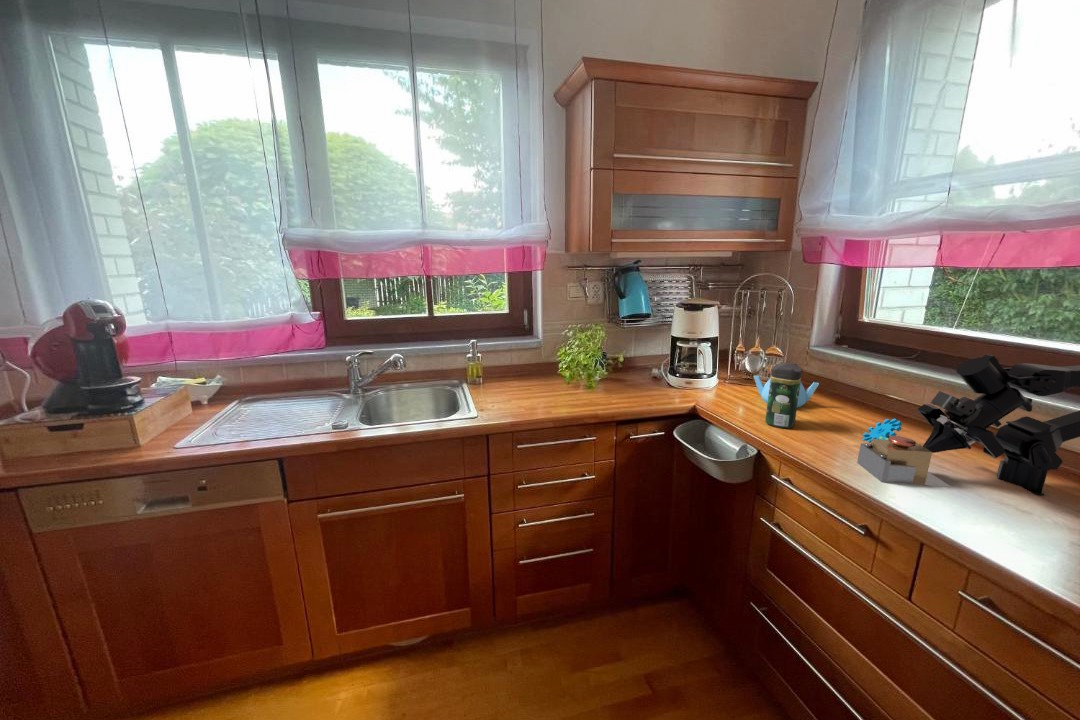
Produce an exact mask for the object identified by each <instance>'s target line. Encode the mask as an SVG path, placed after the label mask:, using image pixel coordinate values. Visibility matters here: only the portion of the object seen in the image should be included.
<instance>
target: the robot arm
mask: <svg viewBox="0 0 1080 720" xmlns="http://www.w3.org/2000/svg"><path fill="white" fill-rule="evenodd" d="M955 372H956V373H957V375H958V376H959V377H960V378H961V379H962V381H964V383H965V384H966V385H967V386H968V387H969V388H970V390H971V391H972V392H973V393H975V394H980V395H978V396H977V397H976V398H974V399H971V398H969V397H967V396H963V397H961V398H958V397H955V396H953V395H951V394H948V393H945V392H942V391H940V390H939V391H938V392H937V394H936V395H935V396H934V398H933V399H932V400H931V401H930V404H929V403H928V404H927V403H924V404H923V405H921V406H919V407H918V408H917V409H916V410H917V412H918V413H920V415H921V416H922V417H923V418H924V420H926V422H927V423H928V424H929V425H930V426H932V428H933V429H932V431H931V433H930V435H929V436H928V437H927V439H926V441H925V442H924V443H923V445H922V446H923V447H924V448H926V449H928V450H930V451H931V452H932V454H935V453H942V452H947V451H955V450H965V449H967V450H971V449H972V446H971V445H973V444H974V443H978V444H980V445H982V446H983V450H982V451H983V453H984V454H985V455H987V456H989V457H991V458H994V459H997V458H999V457H1000V456H1002V455H1005V456H1004V459H1003V460H999V463H998V467H997V468H998V469H997V472H996V477H997V479H998V480H999V481H1002V482H1005V483H1009V484H1011V485H1014V486H1017V487H1020V488H1022V489H1024V490H1026V491H1028V492H1030V493H1031V494H1034V495H1039V496H1045V492H1044V490H1043V489H1044V485H1045V482H1046V478H1047V475H1048V472H1049V471H1051V470H1054V471H1055V470H1058V469H1059V468H1060V466H1061V465H1062V463H1063V460H1062V459H1061V457H1060V456H1059V455H1058V454H1057V453H1056V452H1058V451H1059V449H1060V447H1061V446H1062V444H1063V443H1065V442H1067V441H1071V440H1075V439H1077V438H1080V410H1076V411H1074V412H1071V413H1068V414H1065V415H1061V416H1057V417H1055V418H1051V419H1048V420H1043V421H1041V420H1039V419H1035V418H1034V417H1031V416H1026V415H1025V416H1022V417H1020V418H1018V419H1016V420H1015V419H1014V420H1011V421H1005V422H1006V424H1004V425H1003V424H1002V423H1001V421H1000V420H1002V419H1003V418H1005V417H1006V416H1008V415H1009V414H1010V413H1012V412H1014V411H1015V410H1018V409H1020V410H1023V411H1025V412H1028V413H1030V412H1032V411H1033V405H1032V404H1033V403H1032V402H1033V398H1030V397H1028V396H1027V397H1026V396H1024V395H1023V394H1022V392H1026V393H1028V394H1031V395H1034V396H1038V397H1048V396H1051V395H1057V394H1061V393H1064V392H1065V391H1067V390H1068V389H1073V388H1080V365H1079V364H1078V365H1066V366H1065V365H1064V366H1054V365H1048V364H1047V365H1046V364H1040V363H1039V364H1038V363H1024V362H1021V363H1016V364H1014V365H1012V367H1003V366H1002V365H1001V364H1000V363H999V360H998V359H997V357H996V356H995V355H991V354H984V355H983V356H981V357H974V358H971V359H968V360H964V361H963V362H961V363H960V364H959V365H958V366H957V367H956V371H955ZM1021 391H1022V392H1021ZM935 405H936V406H938V407H936V406H935ZM942 409H944V411H943V410H942ZM1001 425H1002V426H1001ZM991 426H994V427H996V428H998V430H997V432H996V434H995V433H994V432H993V431H991V430H988V428H990V427H991Z"/></svg>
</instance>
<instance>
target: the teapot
mask: <svg viewBox="0 0 1080 720" xmlns="http://www.w3.org/2000/svg"><path fill="white" fill-rule="evenodd" d="M753 378H754V379H753V380H754V381H755V385H756V389H757V392H758V394H759V395H760V397H761V399H762V400H763V401H764V403H766V404H767V403H768V395H769V387H770V379H771V377H770V378H769V379H768V380H767V382H766V383H765V384H763V382H762V379H761V378H760V376H759V375H753ZM819 385H820V383H819V382H815V381H813V382H812V383H811V385H810V386H808V388H807V389H806V390H805V387H804V385H803V383H802V382H801V383H800V390H799V397H798V403H797V409H798V407H799V408H800V407H802V406H804V405H805V404H806V402H809V400H810V399H811V398H812V396H813V394H814V393H815V391H816V390H817V388H818V387H819Z"/></svg>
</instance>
